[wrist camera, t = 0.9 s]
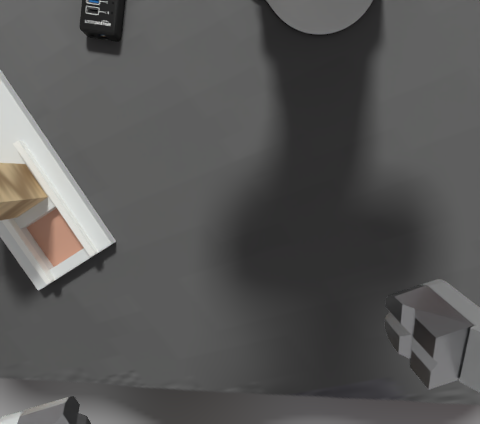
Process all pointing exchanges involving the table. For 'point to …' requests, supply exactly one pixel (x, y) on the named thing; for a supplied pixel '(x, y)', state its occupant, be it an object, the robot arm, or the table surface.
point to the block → (18, 190)
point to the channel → (45, 201)
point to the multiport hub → (102, 19)
